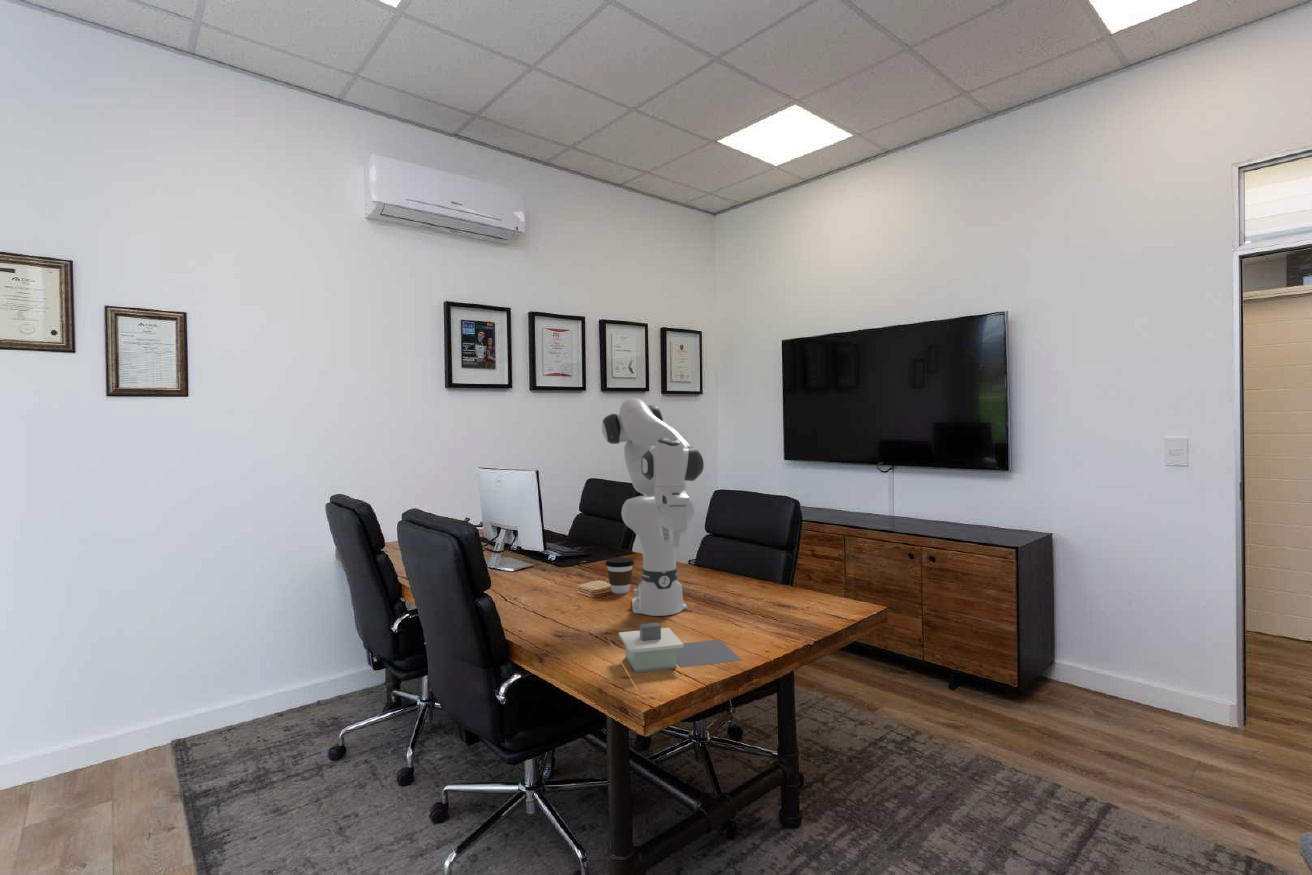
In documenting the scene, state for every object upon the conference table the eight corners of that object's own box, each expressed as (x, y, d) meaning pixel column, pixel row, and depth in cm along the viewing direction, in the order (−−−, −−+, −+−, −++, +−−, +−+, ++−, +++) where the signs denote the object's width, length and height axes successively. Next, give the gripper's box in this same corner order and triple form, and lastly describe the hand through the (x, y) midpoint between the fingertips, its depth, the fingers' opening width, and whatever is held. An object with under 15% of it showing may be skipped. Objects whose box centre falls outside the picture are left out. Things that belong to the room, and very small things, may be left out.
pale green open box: (625, 658, 174) (625, 636, 174) (665, 654, 177) (664, 632, 177) (634, 674, 164) (634, 650, 163) (676, 669, 166) (676, 646, 166)
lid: (618, 635, 175) (618, 619, 175) (668, 630, 179) (668, 614, 179) (629, 653, 162) (629, 636, 162) (683, 647, 165) (683, 630, 165)
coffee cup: (604, 588, 248) (603, 557, 248) (632, 587, 250) (632, 556, 250) (607, 596, 237) (606, 563, 237) (637, 594, 239) (636, 562, 239)
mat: (662, 646, 183) (662, 645, 183) (719, 640, 187) (719, 639, 187) (680, 668, 167) (680, 667, 167) (742, 661, 171) (742, 660, 171)
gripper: (650, 491, 194) (650, 537, 195) (669, 500, 175) (669, 551, 175) (670, 490, 196) (671, 536, 196) (691, 499, 176) (691, 549, 177)
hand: (670, 543), depth 186 cm, fingers open, 8 cm apart
